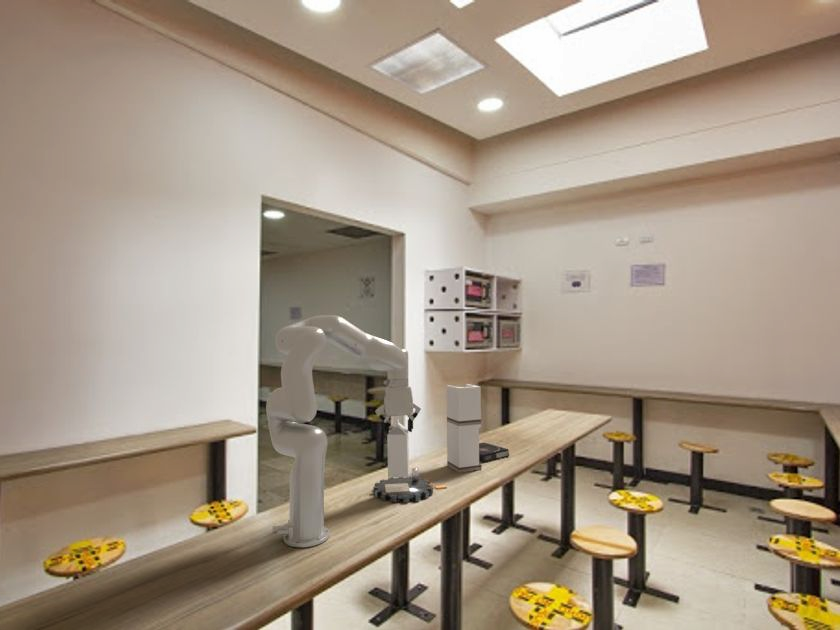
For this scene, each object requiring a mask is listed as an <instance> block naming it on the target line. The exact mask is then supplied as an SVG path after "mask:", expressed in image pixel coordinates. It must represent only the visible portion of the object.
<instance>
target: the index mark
mask: <svg viewBox="0 0 840 630" xmlns="http://www.w3.org/2000/svg"><path fill="white" fill-rule="evenodd" d="M434 488H435V490H442V489H443V488H444V489H447V488H448V487H447V485H445V484H442V485H434ZM444 489H443V490H444Z"/></svg>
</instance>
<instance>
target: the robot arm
mask: <svg viewBox="0 0 840 630" xmlns="http://www.w3.org/2000/svg"><path fill="white" fill-rule="evenodd" d="M274 341H275V342H274V344H275V347H276V349H277V351H279V353H281V354H283V355H285V356H286V357H285V358H284V360H283V364H282V366H281V370H280V379H281V387H277V388H276V389H275V388H274V390H273V391H271V393H270V394H269V395H268V397H267V400H266V403H265V404H266V405H265V412H266V419H267V424H268V430H269V435H270V440H271V444H272V447H273V448H274V449H275V451H276V452H277V453H278V454H281V455H284V456H287V457H291V458H294V462H293V464H292V467H291V470H290V473H289V519H288V521H287V523H284V524H283V525H274V526H272V534H273V535H274V534H276V535H277V537H279V536H283V542H284V543H285V544H286V545H287V546H289V547H293V548H294V547H295V548H310V547H314V546H318V545H321V544H322V543H324V542H326V541H327V540H328V539H329V538H330V529H329V528H328V527H326V526H325V463H326V461H325V460H326V455H327V449H328V446H329V445H328V444H329V443H328V441H329V440H328V436H327V434H326V432H325V431H324V430H323V429H322V428H320V427H318V426H316V425H312V424H311V425H310V424H305V423H310V422H311V421H312V420H314V419H315V416H317V411H318V404H317V399H316V398H317V397H316V392H315V388H314V379H313V367H314V364H315V363H316V360H317V358H318V357H319V355H320V354H321V352H322V351H323V349H324V348H325V346H326V343H328V344H332V345H334V346H335V347H337V348H339V349H340V350H342V351H344V352H346V353H347V354H349V355H350V356H353V357H356V358H360V359H367V361H366V362H367V365H368V367H369V368H370V369H371V370H374V371H377V372H379V371H380V372H387V378H386V380H383V384H384V385H385V386H386V387H385V389H384V390H385V391H384V397H383V398H384V399H383V400H384V401H383V404H382V405H380V406H379V407H378V408H377V409H375V412H374V413H376V416H378V419H380V420H381V421H383V432H384V433H385V434H386V435H388V433H389V430H390V429H389V427H390V426H389V424H390V423H389V420H390V418H391V417H402V416H407V418H408V419H407V430H408V433H412V432H413V429H414V421H415V419H416V418H417V417H418V415H419V413H420V411H421V409H422V408H420V406H419V405H416V403H414V402H413V401H414V400H413V391H412V387H411V386H410V385H409V352H408V350H407V349H405V348H404V349H403V348H401V347H399V346H397V345H396V344H395V343H392V342H390V341H388V340H386V339H383V338H380V337H377V336H375V335H372V334H369V333H367V332H365V331H363V330H362V329H360V328H359V327H357V326H355V325H354V324H352V323H351V322H350V321H348V320H347V319H345V318H344V317H342V316H339V315H335V314H331V315H330V314H329V315H328V314H327V315H326V314H325V315H314V316H311V317H309V318H306V319H303V320H300V321H298V322H294V323H292V324H290V325H286V326H284V327H282V328H281V329H280V330H279V331H278V332H277V334H276V335H275V340H274ZM414 409H415V410H414ZM382 411H383V413H384V415H383V414H382Z"/></svg>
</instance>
